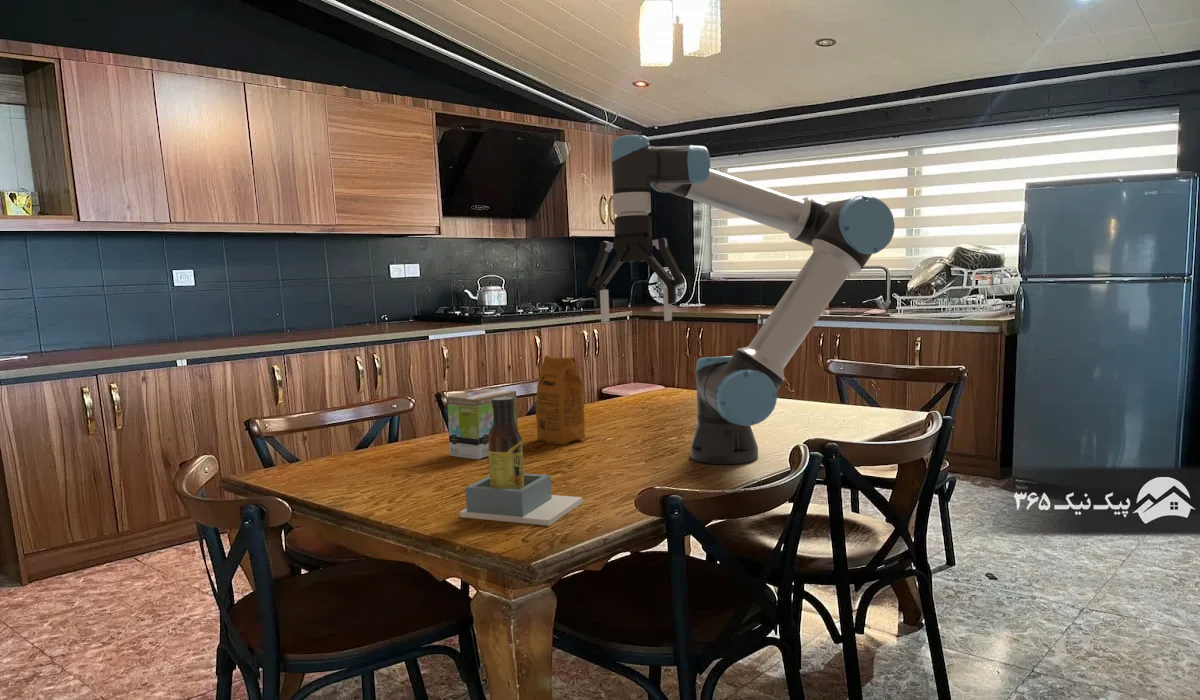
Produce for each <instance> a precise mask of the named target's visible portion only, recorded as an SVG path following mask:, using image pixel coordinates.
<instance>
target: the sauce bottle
mask: <svg viewBox="0 0 1200 700" xmlns="http://www.w3.org/2000/svg"><path fill="white" fill-rule="evenodd" d="M513 406H514V398H513V397H499V398H493V399H492V407H493V415H494V419H493V421H494V424H493V426H492V429H491V430H490V432H489V435H488V442H489V450H488V454H489V456H488V470H489V473H488V474H489V476H490V487H493V488H506V489H518V490H519V489H521V488H522V487H524V473H525V471H524V457H523V456H524V454H523V452H524V451H523V439H522V436H521V434H520V432H519V430H518V429H517V426H516V424H515V421H514V420H515V419H514V410H513Z"/></svg>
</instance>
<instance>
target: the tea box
mask: <svg viewBox="0 0 1200 700" xmlns="http://www.w3.org/2000/svg"><path fill="white" fill-rule="evenodd" d="M499 397H513V398H514V406H513V410H514V419H515V420H514V421H515V424H516V426H517V429H518V427H519V426H518V407H517V406H518V404H517V403H518V401H517V400H518V399H517V398H518V397H517V390H509V389H499V388H497V389H496V388H485V389H480V390H479V389H478V390H475V391H471V392H465V393H461V394H460V393H459V394H455V395H451V396H447V415H448V416H447V417H448V419H447V422H448V440H449V441H448V446H449V447H448V448H449V449H448V450H449V452H448V453H449V456H450V457H456V458H463V459H471V460H482V459H483V458H485V457H489V454H488V450H489V442H488V435H489V432H490V430H491V429H492V426H493V424H494V421H493V419H494V415H493V407H492V399H493V398H499Z"/></svg>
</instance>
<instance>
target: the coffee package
mask: <svg viewBox="0 0 1200 700" xmlns="http://www.w3.org/2000/svg"><path fill="white" fill-rule="evenodd" d="M575 363H576V359H575V358H574V357H573V356H568V357H554V356H551V355H549V354H546V355H544V359H543V363H542V366H541V369H540V374H539V378H538V381H537V382H538V383H537V387H536V389H537V390H536V404H535V417H536V431H537V441H540V442H546V443H547V444H550V445H562V446H563V445H567V444H569V443H571V442H575V441H579V440H582V439H584V438H586V433H585V431H586V429H585V427H586V425H585V399H584V384H583V381H582V379H581V377H580V374H579V373H578V371H577V369H576V367H575V365H574V364H575Z"/></svg>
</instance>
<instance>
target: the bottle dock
mask: <svg viewBox="0 0 1200 700" xmlns="http://www.w3.org/2000/svg"><path fill="white" fill-rule="evenodd" d="M551 477H552V476H551V475H550V474H536V473H535V474H534V473H525V472H524V487H522V488H521V489H519V490H518V489H506V488H493V487H490V475H487V476H486V477H484V478H482V479H480V480H476V482H474V483H472V484H469V485H468V486H466V487H465V501H466V508H464V509H462V510H461V511H459V517H460V518H468V519H477V520H485V521H486V520H487V521H488V520H489V521H498V522H508V523H516V524H527V525H535V526H536V525H538V526H547V527H548V526H550V527H551V526H552V525H553V524H554V523H555V522H557V521H558V520H560V519H561V518H563V517H565V515H568V513H570V512H571V511H573V510H574V509H576V508H577V507H579V506H580V505H581V504H583V499H584V498H583V496H582V497H581V496H572V495H571V496H570V495H558V494H557V495H555V494H552V478H551Z"/></svg>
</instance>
